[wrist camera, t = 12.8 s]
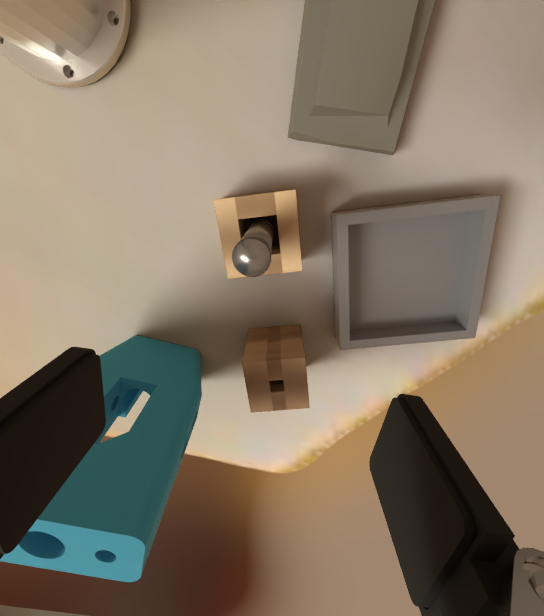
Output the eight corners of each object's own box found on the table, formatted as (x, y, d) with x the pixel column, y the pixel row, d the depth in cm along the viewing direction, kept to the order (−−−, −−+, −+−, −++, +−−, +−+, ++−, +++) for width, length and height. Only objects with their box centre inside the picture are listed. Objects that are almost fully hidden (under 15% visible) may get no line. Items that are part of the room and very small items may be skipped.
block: (216, 353, 35) (146, 539, 17) (208, 386, 37) (139, 584, 19) (116, 330, 34) (-75, 499, 16) (114, 364, 36) (-58, 551, 18)
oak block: (222, 198, 28) (213, 200, 24) (293, 189, 28) (295, 189, 24) (233, 267, 31) (227, 278, 27) (299, 260, 30) (302, 270, 27)
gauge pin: (247, 220, 29) (228, 240, 18) (272, 217, 29) (268, 235, 18) (251, 244, 30) (235, 279, 19) (275, 242, 30) (273, 275, 19)
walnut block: (248, 329, 34) (241, 363, 27) (300, 324, 33) (305, 357, 27) (255, 371, 36) (251, 412, 29) (303, 367, 36) (309, 407, 29)
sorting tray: (330, 212, 28) (336, 214, 26) (478, 194, 27) (500, 195, 25) (335, 336, 34) (340, 349, 31) (458, 325, 33) (475, 337, 30)
